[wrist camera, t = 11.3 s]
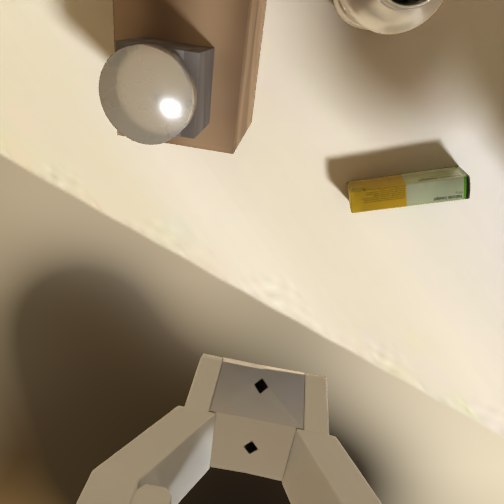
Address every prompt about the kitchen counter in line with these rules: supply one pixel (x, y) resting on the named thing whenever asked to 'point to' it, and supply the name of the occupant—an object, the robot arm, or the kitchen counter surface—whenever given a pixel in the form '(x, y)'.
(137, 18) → the stand
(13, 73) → the kitchen counter surface
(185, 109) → the grey plunger
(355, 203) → the medication box
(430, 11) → the plastic bottle
